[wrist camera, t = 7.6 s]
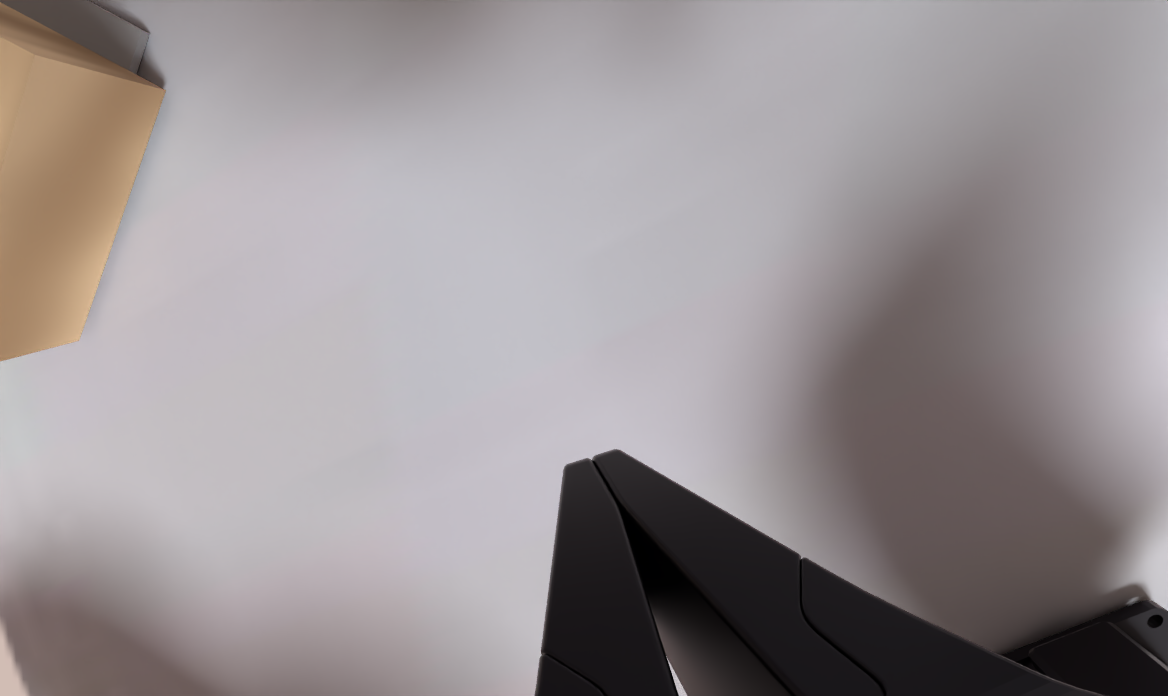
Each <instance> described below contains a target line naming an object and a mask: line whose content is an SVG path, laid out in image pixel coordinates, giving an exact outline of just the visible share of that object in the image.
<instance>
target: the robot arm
mask: <svg viewBox="0 0 1168 696" xmlns="http://www.w3.org/2000/svg"><path fill="white" fill-rule="evenodd" d="M541 654H542V656H541V657H540V660H539V668H538V676H537V684H536V691H535V696H678V692H677V689H676V686H675V683H674V680H673V676H672V673H671V670H670V667H669V664H668V660H669V662H670V664H671V666H672V667H673V669H674V671H675V673H676V675H677V677H678V679H679V681H680V682H681V684H682V686H683V688H684V690H685V692H686V694H687V696H1168V611H1167V610H1165V609H1164V608H1163V607H1161V606H1160V605H1158V604H1157V603H1155V602H1153V601H1149V600H1145V601H1140V602H1138V603H1135V604H1133V605H1130V606H1128V607H1125V608H1122V609H1120V610H1117V611H1115V612H1112V613H1110V614H1107V615H1104V616H1102V617H1099V618H1097V619H1094V620H1092V621H1089V622H1086V623H1084V624H1081V625H1079V626H1076V627H1074V628H1071V629H1068V630H1066V631H1063V632H1061V633H1058V634H1055V635H1053V636H1050V637H1048V638H1045V639H1043V640H1040V641H1037V642H1035V643H1032V644H1030V645H1027V646H1025V647H1022V648H1019V649H1017V650H1014V651H1012V652H1009V653H1007V654H1004V655H999V654H997V653H995V652H992V651H990V650H988V649H986V648H984V647H982V646H979V645H977V644H975V643H973V642H971V641H969V640H967V639H964V638H962V637H960V636H958V635H956V634H954V633H951V632H949V631H947V630H945V629H943V628H941V627H938V626H936V625H934V624H932V623H930V622H928V621H926V620H923V619H921V618H919V617H917V616H915V615H913V614H911V613H909V612H907V611H905V610H903V609H901V608H898V607H896V606H894V605H892V604H890V603H888V602H886V601H884V600H882V599H880V598H878V597H876V596H874V595H872V594H870V593H868V592H866V591H864V590H863V589H861V588H859V587H857V586H855V585H853V584H852V583H850V582H848V581H846V580H844V579H842V578H841V577H839V576H837V575H835V574H833V573H831V572H830V571H828V570H826V569H824V568H823V567H821V566H819V565H818V564H816V563H814V562H812V561H811V560H809V559H807V558H802V559H801V556H800V555H799V554H798V553H796V552H795V551H793V550H791V549H790V548H788V547H786V546H784V545H783V544H781V543H779V542H778V541H776V540H774V539H772V538H771V537H769V536H767V535H765V534H764V533H762V532H760V531H759V530H757V529H755V528H753V527H752V526H750V525H748V524H747V523H745V522H743V521H741V520H740V519H738V518H736V517H734V516H733V515H731V514H729V513H728V512H726V511H724V510H722V509H721V508H719V507H717V506H716V505H714V504H712V503H710V502H709V501H707V500H705V499H703V498H702V497H700V496H698V495H697V494H695V493H693V492H691V491H690V490H688V489H686V488H685V487H683V486H681V485H679V484H678V483H676V482H674V481H672V480H671V479H669V478H667V477H666V476H664V475H662V474H660V473H659V472H657V471H655V470H654V469H652V468H650V467H648V466H647V465H645V464H643V463H641V462H640V461H638V460H636V459H635V458H633V457H631V456H629V455H628V454H626V453H624V452H623V451H621V450H618V449H614V450H611V451H607V452H604V453H601V454H598V455H595V456H594V457H593V459H592V460H591V459H588V458H586V459H582V460H579V461H576V462H573V463H570V464H567V465H566V466H565V467H564V470H563V478H562V486H561V494H560V502H559V510H558V518H557V526H556V534H555V543H554V551H553V559H552V567H551V575H550V583H549V591H548V599H547V607H546V615H545V623H544V631H543V639H542V647H541ZM666 656H667V657H666ZM667 658H668V660H667Z"/></svg>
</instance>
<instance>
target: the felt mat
mask: <svg viewBox="0 0 1168 696" xmlns="http://www.w3.org/2000/svg"><path fill="white" fill-rule="evenodd" d="M0 2H1V3H3V4H5V5H7V6H8V7H10V8H12V9H14V10H16V11H18V12H20V13H22V14H23V15H25V16H27V17H29V18H31V19H33V20H35V21H37V22H38V23H40V24H42V25H44V26H46V27H48V28H50V29H52V30H53V31H55V32H57V33H59V34H61V35H63V36H65V37H67V38H69V39H70V40H72V41H74V42H76V43H78V44H80V45H82V46H84V47H85V48H87V49H89V50H91V51H93V52H95V53H97V54H99V55H100V56H102V57H104V58H106V59H108V60H110V61H112V62H114V63H115V64H117V65H119V66H121V67H123V68H125V69H127V70H129V71H131V72H132V73H134V74H137V71H138V68H139V65H140V62H141V59H142V56H143V53H144V50H145V47H146V44H147V41H148V38H149V35H150V33H148V32H146V31H144V30H142V29H141V28H139V27H137V26H135V25H133V24H131V23H130V22H128V21H126V20H124V19H122V18H120V17H118V16H117V15H115V14H113V13H111V12H109V11H107V10H105V9H104V8H102V7H100V6H98V5H96V4H94V3H92V2H91V1H89V0H0Z"/></svg>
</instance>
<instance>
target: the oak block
mask: <svg viewBox="0 0 1168 696" xmlns="http://www.w3.org/2000/svg"><path fill="white" fill-rule="evenodd" d="M165 92H166V90H164V89H162V88H161V87H159V86H157V85H155V84H153V83H151V82H149V81H147V80H146V79H144V78H142V77H140V76H138V75H136V74H134V73H132V72H131V71H129V70H127V69H125V68H123V67H121V66H119V65H117V64H115V63H114V62H112V61H110V60H108V59H106V58H104V57H102V56H100V55H99V54H97V53H95V52H93V51H91V50H89V49H87V48H85V47H84V46H82V45H80V44H78V43H76V42H74V41H72V40H70V39H69V38H67V37H65V36H63V35H61V34H59V33H57V32H55V31H53V30H52V29H50V28H48V27H46V26H44V25H42V24H40V23H38V22H37V21H35V20H33V19H31V18H29V17H27V16H25V15H23V14H22V13H20V12H18V11H16V10H14V9H12V8H10V7H8V6H7V5H5V4H3V3H1V2H0V361H4V360H7V359H11V358H15V357H19V356H22V355H26V354H30V353H34V352H38V351H41V350H45V349H49V348H53V347H57V346H60V345H64V344H68V343H72V342H75V341H79V339H80V336H81V334H82V331H83V328H84V325H85V322H86V319H87V316H88V313H89V310H90V308H91V305H92V302H93V299H94V296H95V293H96V290H97V287H98V285H99V282H100V279H101V276H102V273H103V270H104V267H105V264H106V262H107V259H108V256H109V253H110V250H111V247H112V244H113V241H114V239H115V236H116V233H117V230H118V227H119V224H120V221H121V218H122V215H123V213H124V210H125V207H126V204H127V201H128V198H129V195H130V192H131V190H132V187H133V184H134V181H135V178H136V175H137V172H138V169H139V167H140V164H141V161H142V158H143V155H144V152H145V149H146V146H147V144H148V141H149V138H150V135H151V132H152V129H153V126H154V123H155V121H156V118H157V115H158V112H159V109H160V106H161V103H162V100H163V97H164V95H165Z"/></svg>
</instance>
